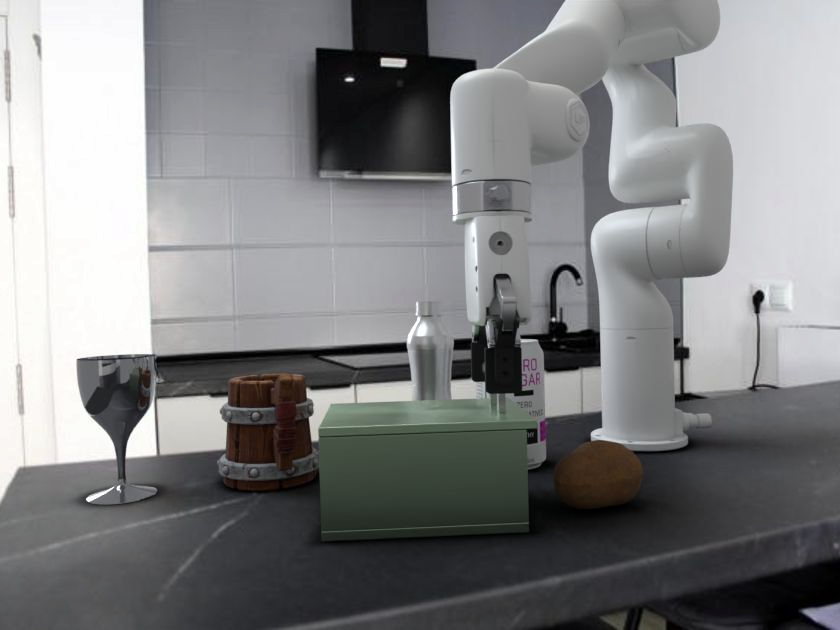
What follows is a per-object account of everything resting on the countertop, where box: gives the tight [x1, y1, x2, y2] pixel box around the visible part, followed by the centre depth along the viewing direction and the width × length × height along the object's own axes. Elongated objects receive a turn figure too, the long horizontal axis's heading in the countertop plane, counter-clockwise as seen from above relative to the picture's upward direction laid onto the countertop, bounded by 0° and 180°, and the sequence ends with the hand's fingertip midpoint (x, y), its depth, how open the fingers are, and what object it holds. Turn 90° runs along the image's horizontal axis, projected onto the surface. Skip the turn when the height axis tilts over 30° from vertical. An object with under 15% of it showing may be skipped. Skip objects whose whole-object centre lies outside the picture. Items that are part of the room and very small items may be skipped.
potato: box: [553, 440, 644, 510], centre depth 68 cm, size 7×10×6 cm
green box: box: [317, 429, 530, 543], centre depth 67 cm, size 18×14×9 cm
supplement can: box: [475, 338, 547, 470], centre depth 85 cm, size 8×8×15 cm
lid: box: [317, 361, 537, 438], centre depth 67 cm, size 19×14×5 cm
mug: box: [216, 373, 319, 492], centre depth 80 cm, size 12×14×15 cm
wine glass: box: [75, 353, 158, 506], centre depth 76 cm, size 8×8×15 cm
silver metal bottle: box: [406, 300, 455, 401], centre depth 94 cm, size 6×7×20 cm
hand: (494, 386), depth 67 cm, fingers open, 9 cm apart
